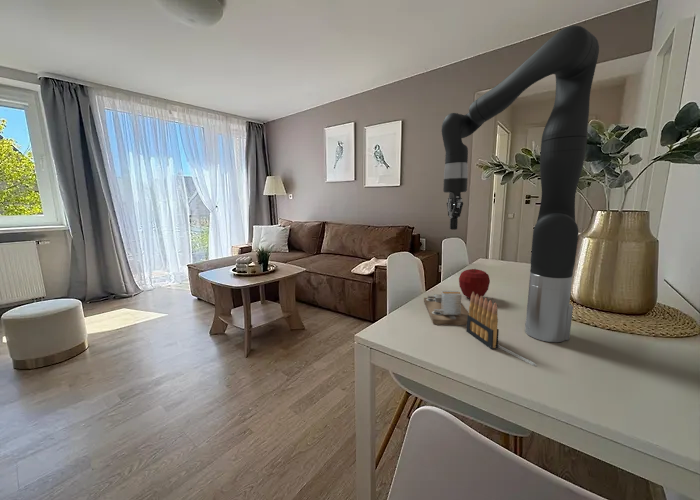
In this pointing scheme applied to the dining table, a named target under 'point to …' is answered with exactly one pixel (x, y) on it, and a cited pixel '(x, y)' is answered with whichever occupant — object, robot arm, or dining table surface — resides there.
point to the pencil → (517, 355)
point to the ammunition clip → (483, 321)
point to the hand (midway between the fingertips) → (453, 229)
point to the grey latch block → (450, 303)
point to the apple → (474, 282)
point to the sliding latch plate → (438, 317)
